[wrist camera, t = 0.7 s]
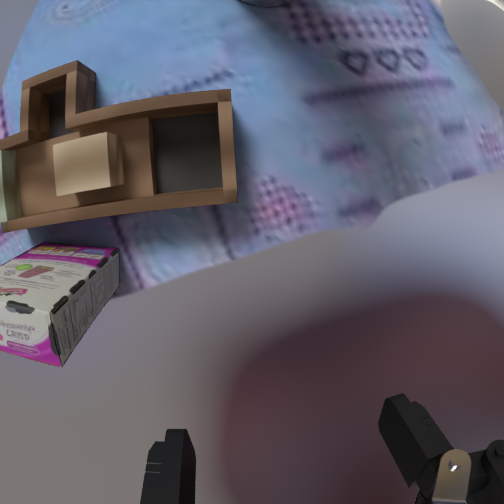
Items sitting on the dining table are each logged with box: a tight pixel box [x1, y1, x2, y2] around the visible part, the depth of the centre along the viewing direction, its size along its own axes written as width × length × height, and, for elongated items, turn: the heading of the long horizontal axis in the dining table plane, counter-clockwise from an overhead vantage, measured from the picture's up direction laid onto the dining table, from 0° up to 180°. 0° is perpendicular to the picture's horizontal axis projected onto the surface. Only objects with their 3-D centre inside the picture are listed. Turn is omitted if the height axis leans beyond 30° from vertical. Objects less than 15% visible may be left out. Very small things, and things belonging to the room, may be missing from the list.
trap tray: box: [0, 60, 238, 233], centre depth 26 cm, size 16×27×5 cm, turn 93°
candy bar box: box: [0, 242, 120, 367], centre depth 24 cm, size 11×5×16 cm, turn 84°
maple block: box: [53, 132, 124, 196], centre depth 25 cm, size 5×6×4 cm
